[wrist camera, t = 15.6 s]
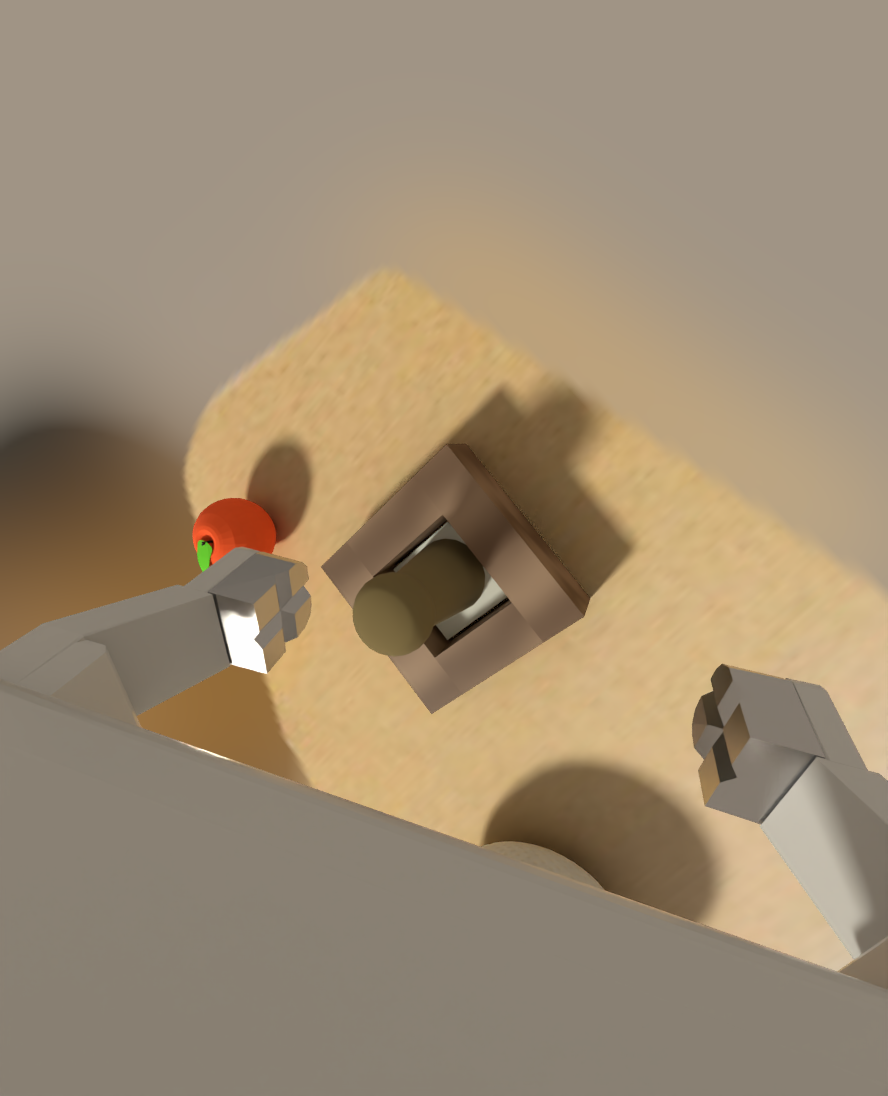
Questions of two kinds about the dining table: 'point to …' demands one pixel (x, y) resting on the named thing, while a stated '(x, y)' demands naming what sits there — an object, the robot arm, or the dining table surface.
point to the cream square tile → (487, 600)
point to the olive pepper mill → (417, 597)
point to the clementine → (232, 530)
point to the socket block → (501, 547)
